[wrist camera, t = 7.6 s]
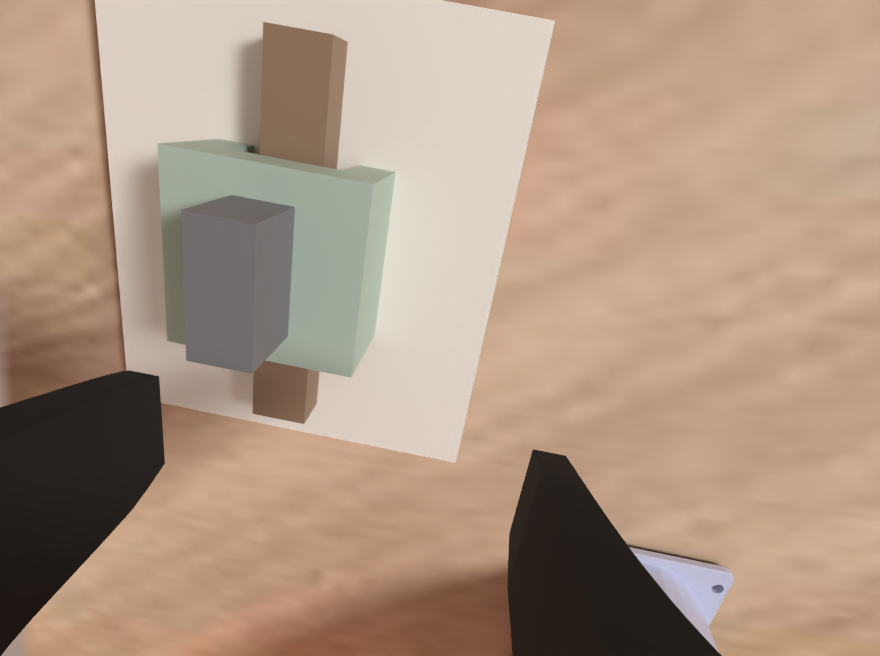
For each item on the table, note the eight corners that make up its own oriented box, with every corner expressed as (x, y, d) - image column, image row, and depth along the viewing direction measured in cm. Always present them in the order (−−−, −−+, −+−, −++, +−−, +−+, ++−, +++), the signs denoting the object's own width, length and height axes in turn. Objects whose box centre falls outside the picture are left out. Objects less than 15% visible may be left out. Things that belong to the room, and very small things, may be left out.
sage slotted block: (374, 335, 19) (326, 421, 14) (220, 304, 19) (112, 378, 14) (395, 172, 17) (348, 197, 11) (219, 138, 17) (90, 148, 12)
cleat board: (456, 451, 22) (452, 487, 20) (140, 387, 22) (103, 415, 20) (552, 25, 15) (561, 10, 13) (108, -55, 16) (48, -82, 14)
